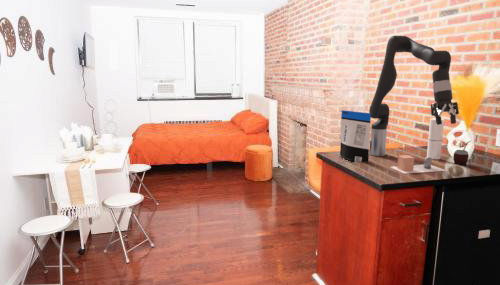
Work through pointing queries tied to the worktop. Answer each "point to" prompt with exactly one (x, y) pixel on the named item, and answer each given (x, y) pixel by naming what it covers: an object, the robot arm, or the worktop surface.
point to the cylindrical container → (435, 139)
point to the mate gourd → (461, 156)
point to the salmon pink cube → (405, 163)
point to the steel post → (427, 162)
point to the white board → (420, 169)
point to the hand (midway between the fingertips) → (446, 124)
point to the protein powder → (355, 136)
